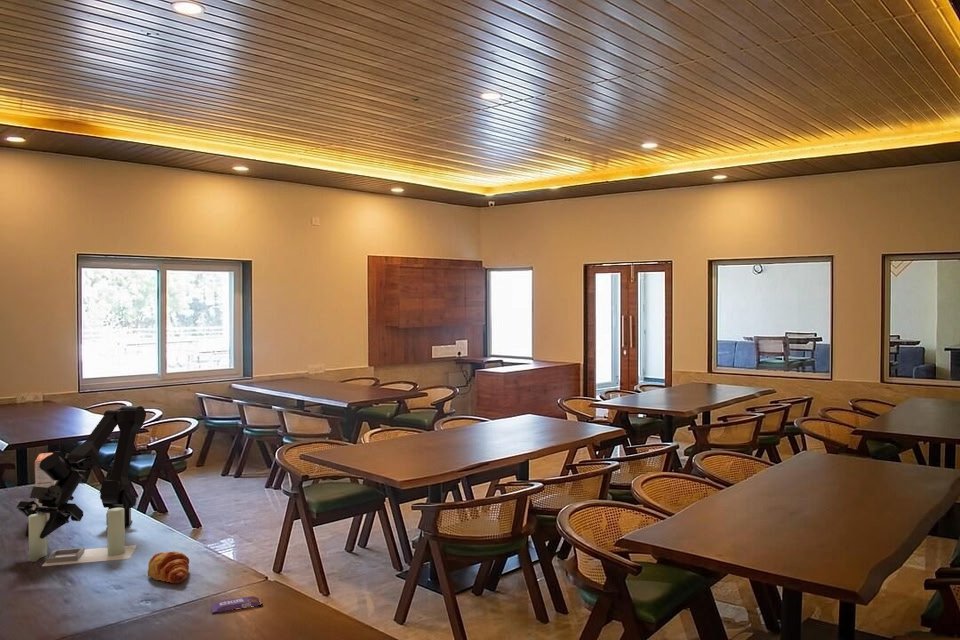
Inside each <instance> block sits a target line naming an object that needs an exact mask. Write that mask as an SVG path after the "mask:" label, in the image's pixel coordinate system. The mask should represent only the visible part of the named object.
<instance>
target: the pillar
mask: <svg viewBox="0 0 960 640" xmlns="http://www.w3.org/2000/svg"><path fill="white" fill-rule="evenodd" d="M27 518H28V519H29V538H28V560H29V562H32V563H33V562H34V563H35V562H37V561H38V560H39V559H41V558H44V557H46V556H48V535H47V536H46V537H45V538H43V539H41V538H40V535H41V532H42V530H43V529H44V527H45V525H46V523H47V514H46V513H38V514H32V515H30V516H28V517H27Z"/></svg>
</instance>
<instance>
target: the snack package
mask: <svg viewBox="0 0 960 640" xmlns="http://www.w3.org/2000/svg"><path fill="white" fill-rule="evenodd" d="M258 605H261V604H260V602H259V596H258V597H257V596H254V595H249V596H243V597H235V598H227V599H223V600H220V601H217V602H216V603H213V604H211V605H210V607H211V613H217V612H220V613H223V612H222V611H226V612H228V611H227V610H232V609H236V608H244V607H251V606H258ZM261 606H262V605H261ZM258 607H259V606H258Z"/></svg>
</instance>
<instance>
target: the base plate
mask: <svg viewBox="0 0 960 640" xmlns="http://www.w3.org/2000/svg"><path fill="white" fill-rule="evenodd" d="M136 547H138V545H137V544H134V545H125V553H123V554H120V555H115V556H110V555H108V547H98V548H87V549H85V547H77V548H76V547H75V548H73V547H72V548H62V549H61V548H60V549H54V550H53V551H52V552H51V553H50V554H49V555H47V557H46V558H45V561H44V563H43V564H42V565H41V567H49V566H51V567H52V566H61V565H71V564H84V563H94V562H104V561H105V562H107V561H119V560H127V559H128V560H129V559H131V557H132V555H133V553H134V552H135V550H136Z"/></svg>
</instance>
